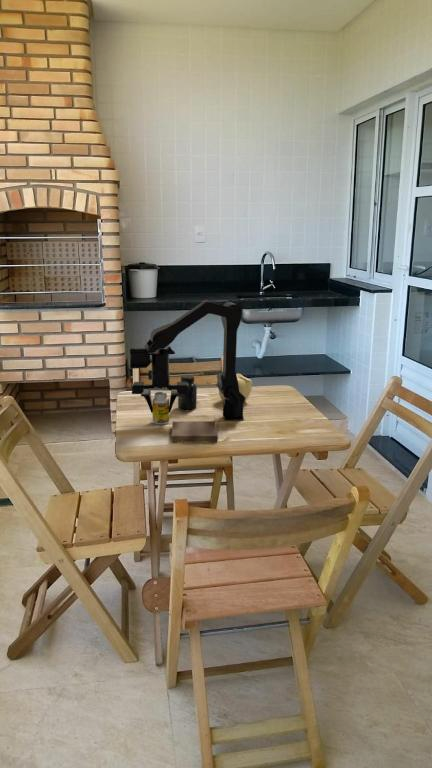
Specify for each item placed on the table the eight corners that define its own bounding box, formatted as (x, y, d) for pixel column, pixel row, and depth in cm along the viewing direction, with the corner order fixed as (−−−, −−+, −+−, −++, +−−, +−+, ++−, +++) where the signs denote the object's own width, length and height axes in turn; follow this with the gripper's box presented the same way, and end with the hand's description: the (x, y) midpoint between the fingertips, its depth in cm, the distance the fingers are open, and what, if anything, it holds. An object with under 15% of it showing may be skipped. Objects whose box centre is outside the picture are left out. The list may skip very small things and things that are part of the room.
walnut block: (214, 426, 195) (215, 421, 194) (217, 441, 181) (217, 435, 181) (172, 427, 194) (172, 421, 194) (171, 442, 181) (171, 436, 180)
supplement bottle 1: (157, 426, 195) (157, 396, 192) (149, 421, 199) (149, 392, 197) (172, 423, 198) (172, 394, 195) (164, 418, 202) (164, 390, 200)
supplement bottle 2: (174, 409, 213) (174, 377, 210) (182, 404, 219) (182, 373, 216) (192, 412, 210) (192, 379, 207) (199, 406, 216) (199, 375, 213)
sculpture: (255, 400, 225) (256, 373, 222) (239, 408, 215) (240, 379, 213) (229, 395, 231) (230, 369, 228) (213, 403, 221) (213, 375, 219)
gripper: (188, 361, 202) (188, 405, 206) (133, 361, 201) (134, 405, 205) (188, 369, 191) (188, 415, 195) (131, 369, 190) (132, 415, 194)
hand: (160, 412), depth 198 cm, fingers closed on supplement bottle 1, 5 cm apart
